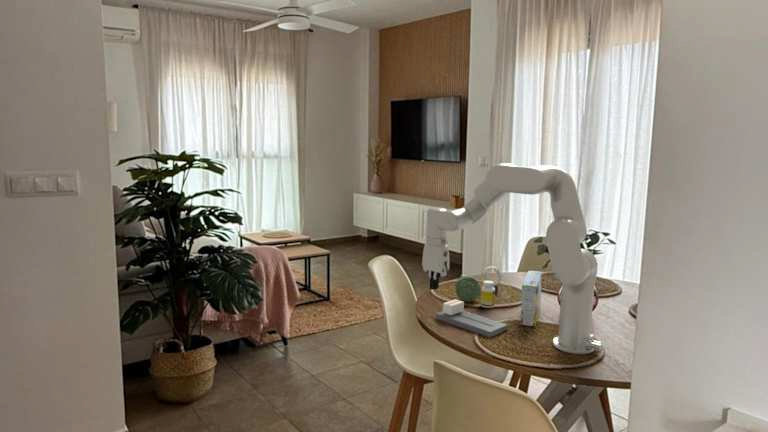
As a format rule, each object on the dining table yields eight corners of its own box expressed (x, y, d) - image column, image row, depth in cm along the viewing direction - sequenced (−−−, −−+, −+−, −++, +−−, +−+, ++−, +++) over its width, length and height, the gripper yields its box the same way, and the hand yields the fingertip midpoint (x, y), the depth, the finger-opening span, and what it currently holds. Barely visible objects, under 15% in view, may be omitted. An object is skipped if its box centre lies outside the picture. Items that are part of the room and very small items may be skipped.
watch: (502, 293, 220) (503, 268, 218) (483, 293, 220) (484, 268, 218) (500, 290, 225) (501, 265, 223) (481, 289, 226) (482, 264, 224)
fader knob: (463, 311, 190) (463, 301, 190) (451, 315, 186) (451, 305, 185) (455, 308, 193) (455, 298, 193) (442, 312, 189) (443, 303, 188)
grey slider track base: (507, 330, 179) (507, 324, 178) (490, 337, 172) (490, 331, 172) (453, 312, 196) (453, 307, 196) (435, 318, 189) (435, 313, 189)
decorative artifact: (478, 299, 212) (479, 275, 210) (481, 305, 205) (483, 280, 203) (454, 299, 212) (455, 275, 210) (456, 304, 205) (457, 280, 203)
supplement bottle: (494, 308, 201) (495, 284, 199) (480, 307, 202) (481, 283, 200) (494, 304, 206) (495, 280, 205) (480, 303, 207) (481, 279, 206)
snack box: (525, 307, 203) (527, 269, 201) (540, 309, 201) (543, 271, 199) (519, 325, 184) (521, 284, 181) (535, 327, 182) (538, 286, 179)
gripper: (458, 243, 189) (455, 291, 192) (427, 236, 200) (426, 282, 203) (444, 246, 184) (442, 295, 187) (414, 238, 195) (412, 285, 198)
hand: (434, 288), depth 195 cm, fingers closed
